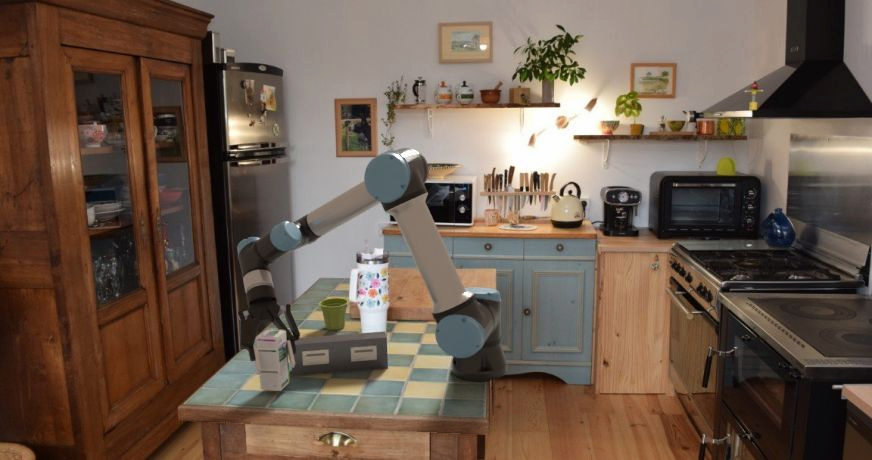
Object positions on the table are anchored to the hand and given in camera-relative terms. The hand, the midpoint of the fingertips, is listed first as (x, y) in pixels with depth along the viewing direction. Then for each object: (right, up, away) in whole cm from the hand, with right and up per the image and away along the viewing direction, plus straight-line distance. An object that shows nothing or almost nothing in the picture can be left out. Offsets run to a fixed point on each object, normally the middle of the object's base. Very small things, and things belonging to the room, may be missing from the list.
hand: (276, 368), depth 171 cm
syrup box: (-1, -6, +4) cm, 7 cm away
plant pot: (+7, +3, +52) cm, 52 cm away
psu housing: (+14, -4, +18) cm, 23 cm away
